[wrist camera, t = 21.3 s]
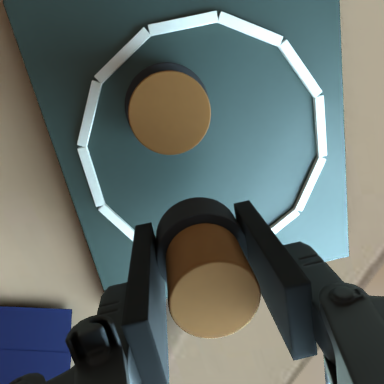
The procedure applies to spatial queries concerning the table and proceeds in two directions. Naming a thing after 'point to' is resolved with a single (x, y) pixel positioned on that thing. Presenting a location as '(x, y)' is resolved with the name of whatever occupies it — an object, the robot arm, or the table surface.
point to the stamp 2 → (206, 268)
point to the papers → (33, 342)
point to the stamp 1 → (168, 108)
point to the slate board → (219, 123)
